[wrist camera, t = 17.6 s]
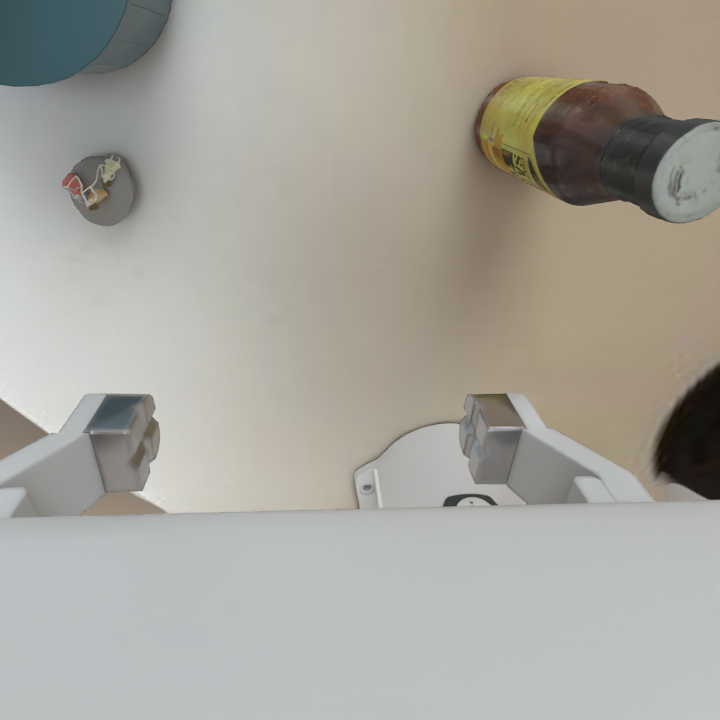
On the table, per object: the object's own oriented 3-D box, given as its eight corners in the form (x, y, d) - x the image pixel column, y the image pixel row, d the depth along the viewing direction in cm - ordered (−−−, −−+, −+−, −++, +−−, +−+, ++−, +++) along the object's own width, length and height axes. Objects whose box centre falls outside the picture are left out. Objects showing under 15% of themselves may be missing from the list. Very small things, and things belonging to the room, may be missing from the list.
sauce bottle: (459, 152, 38) (581, 223, 21) (495, 61, 35) (672, 57, 18) (533, 179, 39) (704, 267, 22) (574, 94, 36) (806, 120, 19)
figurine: (128, 229, 38) (99, 254, 33) (69, 199, 37) (29, 220, 32) (152, 168, 36) (126, 185, 31) (91, 134, 35) (53, 145, 30)
